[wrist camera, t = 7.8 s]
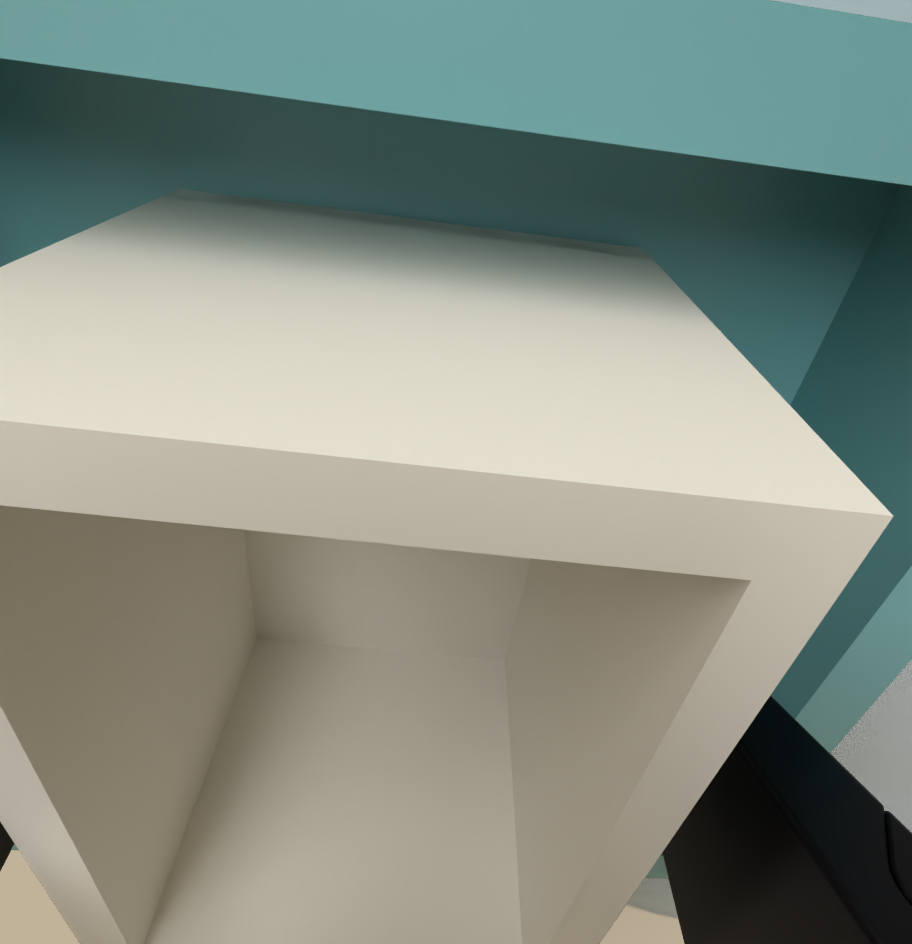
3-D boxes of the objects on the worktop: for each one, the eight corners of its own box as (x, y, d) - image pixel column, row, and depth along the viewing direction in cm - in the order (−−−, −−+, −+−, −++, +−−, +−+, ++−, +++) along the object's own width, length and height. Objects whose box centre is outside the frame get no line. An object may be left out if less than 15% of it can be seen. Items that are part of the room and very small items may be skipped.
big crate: (971, 82, 8) (1394, 101, 5) (657, 693, 16) (719, 880, 12) (-188, -99, 7) (-873, -267, 3) (84, 654, 15) (-35, 848, 11)
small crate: (642, 248, 8) (893, 517, 3) (525, 657, 13) (558, 1002, 9) (180, 188, 8) (-283, 389, 3) (239, 631, 13) (100, 975, 8)
